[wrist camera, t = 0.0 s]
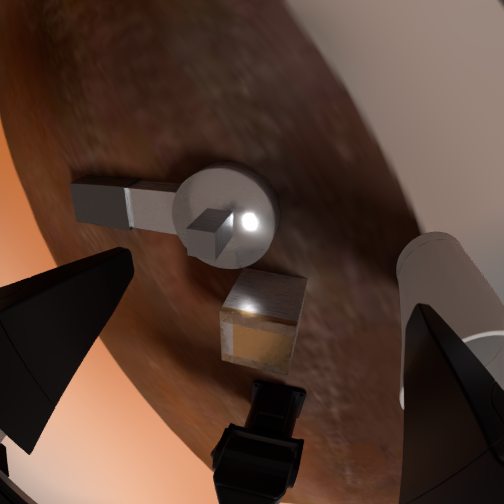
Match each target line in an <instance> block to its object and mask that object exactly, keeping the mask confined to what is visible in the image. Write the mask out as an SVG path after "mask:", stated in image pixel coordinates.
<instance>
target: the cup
mask: <svg viewBox="0 0 504 504" xmlns="http://www.w3.org/2000/svg"><path fill="white" fill-rule="evenodd" d="M396 274H397V279H398V284H399V290H400V304H401V323H402V352H401V382H400V403H401V406H402V408H403V410H404V388H403V370H404V352H405V329H406V325H407V322H408V320H409V318H410V316H411V313H412V311H413V309H414V307H415V305H416V304H417V303H423V304H429V305H430V306H431V307H432V308H433V309H434V310H435V311H436V312H437V313H438V314H439V315H440V316H441V317H442V318H443V320H444V321H445V322H446V323H447V324H448V325H449V326H450V327H451V328H452V329H453V331H454V332H455V333H456V334H457V335H458V336H459V337H460V338H461V339H462V341H463V342H464V343H465V344H466V345H467V346H468V348H469V349H470V350H471V351H472V352H473V353H474V354H475V356H476V357H477V358H478V359H479V360H480V362H481V363H482V364H483V365H484V366H485V368H486V369H487V370H488V371H489V373H490V374H491V375H492V376H493V377H494V379H495V381H497V382H498V384H499V385H500V386H501V388H502V389H503V390H504V305H503V303H502V302H501V300H500V299H499V297H498V296H497V294H496V293H495V291H494V290H493V288H492V287H491V286H490V284H489V283H488V281H487V280H486V279H485V277H484V276H483V275H482V273H481V272H480V270H479V269H478V268H477V266H476V265H475V264H474V262H473V261H472V260H471V258H470V257H469V256H468V254H467V253H466V252H465V250H464V248H463V247H462V245H461V244H460V242H459V241H458V240H457V239H456V238H454V237H453V236H451V235H449V234H447V233H443V232H430V233H425V234H423V235H420V236H418V237H416V238H415V239H413V240H412V241H411V242H410V243H408V244H407V246H406V247H405V248H404V249H403V251H402V252H401V254H400V256H399V258H398V261H397V266H396Z"/></svg>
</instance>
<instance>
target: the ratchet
mask: <svg viewBox="0 0 504 504" xmlns="http://www.w3.org/2000/svg"><path fill="white" fill-rule="evenodd" d="M70 188H71V194H72V199H73V205H74V210H75V215H76V220H77V222H83V223H89V224H95V225H101V226H106V227H112V228H118V229H124V230H131V229H133V228H140V229H147V230H153V231H159V232H165V233H171V234H177V235H178V236H179V238H180V240H181V241H182V243H183V244H184V246H185V247H186V248H187V252H188V256H194V257H197V258H198V259H200V260H202V261H203V262H205V263H207V264H209V265H212V266H215V267H219V268H224V269H238V268H243V267H246V266H249V265H251V264H253V263H255V262H256V261H258V260H259V259H260V258H261V257H262V256H263V255H264V254H265V253H266V251H267V250H268V248H269V246H270V244H271V242H272V240H273V238H274V235H275V233H276V231H277V229H278V226H279V222H280V204H279V200H278V197H277V195H276V192H275V190H274V189H273V187H272V185H271V184H270V183H269V181H268V180H267V179H266V178H265V177H264V176H263V175H262V174H260V173H259V172H258V171H257V170H255V169H253V168H252V167H249V166H247V165H245V164H242V163H238V162H232V161H224V162H217V163H214V164H211V165H209V166H207V167H205V168H203V169H202V170H200V171H199V172H197V173H195V174H194V175H192V176H191V177H189V178H188V179H187V180H185V181H184V182H183V183H182V184H181V183H169V182H157V181H144V180H141V178H131V177H113V176H92V175H86V176H84V177H82V178H80V179H78V180H76V181H74V182H72V183H70Z"/></svg>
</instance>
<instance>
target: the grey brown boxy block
mask: <svg viewBox="0 0 504 504" xmlns="http://www.w3.org/2000/svg"><path fill="white" fill-rule="evenodd" d="M307 280H308V279H304V278H299V277H293V276H287V275H282V274H276V273H271V272H265V271H260V270H255V269H249V268H243V270H242V271H241V273H240V275H239V277H238V279H237V281H236V282H235V284H234V286H233V288H232V290H231V291H230V293H229V295H228V297H227V299H226V300H225V302H224V304H223V306H222V308H221V309H220V333H221V354H222V360H224V361H228V362H231V363H235V364H239V365H244V366H248V367H252V368H256V369H261V370H265V371H270V372H274V373H279V374H284V375H287V374H288V370H289V367H290V363H291V359H292V355H293V350H294V346H295V342H296V338H297V334H298V330H299V325H300V320H301V314H302V309H303V303H304V297H305V292H306V286H307Z"/></svg>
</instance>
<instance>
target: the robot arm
mask: <svg viewBox="0 0 504 504" xmlns="http://www.w3.org/2000/svg"><path fill="white" fill-rule="evenodd" d="M133 276H134V266H133V260H132V255H131V251H130V250H129V249H127V248H123V247H117V248H113V249H110V250H107V251H104V252H101V253H98V254H95V255H92V256H89V257H86V258H83V259H80V260H77V261H74V262H71V263H68V264H66V265H63V266H60V267H57V268H54V269H51V270H48V271H46V272H43V273H40V274H37V275H34V276H32V277H30V278H26V279H23V280H21V281H18V282H15V283H12V284H9V285H7V286H3V287H0V504H37V503H36V502H35V501H34V500H32V499H31V498H30V497H29V496H28V495H27V494H25V493H24V492H23V491H22V490H21V489H20V488H19V487H18V486H17V485H15V484H14V483H13V482H12V481H11V480H10V479H9V478H8V477H9V471H8V464H7V454H6V447H5V446H4V445H3V444H2V443H1V442H2V440H3V439H4V437H5V436H6V435H7V436H8V437H9V438H10V439H11V440H13V441H14V442H15V443H16V444H17V445H18V446H19V447H20V448H22V449H23V450H24V451H25V452H26V453H27V454H28V455H30V454H31V453H32V451H33V449H34V447H35V445H36V443H37V441H38V439H39V437H40V435H41V433H42V431H43V429H44V427H45V426H46V424H47V422H48V420H49V418H50V416H51V415H52V413H53V411H54V409H55V406H56V405H57V403H58V402H59V400H60V398H61V396H62V395H63V393H64V391H65V389H66V388H67V386H68V384H69V383H70V381H71V379H72V377H73V376H74V374H75V372H76V371H77V369H78V367H79V366H80V364H81V363H82V361H83V359H84V358H85V356H86V354H87V353H88V351H89V350H90V348H91V346H92V345H93V343H94V342H95V340H96V339H97V337H98V335H99V334H100V332H101V331H102V329H103V328H104V326H105V325H106V323H107V322H108V320H109V319H110V317H111V316H112V314H113V312H114V311H115V309H116V307H117V305H118V304H119V302H120V300H121V298H122V296H123V294H124V292H125V291H126V289H127V287H128V285H129V283H130V282H131V280H132V278H133ZM403 388H404V441H403V462H402V476H401V487H400V497H399V504H504V390H503V389H502V388H501V386H500V385H499V384H498V382H497V381H495V379H494V377H493V376H492V375H491V374H490V373H489V371H488V370H487V369H486V368H485V366H484V365H483V364H482V363H481V362H480V360H479V359H478V358H477V357H476V356H475V354H474V353H473V352H472V351H471V350H470V349H469V348H468V346H467V345H466V344H465V343H464V342H463V341H462V339H461V338H460V337H459V336H458V335H457V334H456V333H455V332H454V331H453V329H452V328H451V327H450V326H449V325H448V324H447V323H446V322H445V321H444V320H443V318H442V317H441V316H440V315H439V314H438V313H437V312H436V311H435V310H434V309H433V308H432V307H431V306H430V305H429V304H423V303H417V304H416V305H415V307H414V309H413V311H412V313H411V316H410V318H409V320H408V322H407V325H406V329H405V352H404V370H403ZM305 397H306V391H304V390H300V389H295V388H289V387H284V386H280V385H275V384H270V383H266V382H261V381H256V380H255V381H253V384H252V396H251V408H250V411H249V414H248V417H247V420H246V423H245V425H244V427H241V426H237V425H235V424H232V423H230V425H229V427H228V428H225V430H224V432H223V435H222V437H221V439H220V441H219V442H218V444H217V445H216V446H215V448H214V449H213V451H212V452H211V457H212V459H213V465H212V469H213V470H215V472H214V475H213V480H214V485H215V490H216V494H217V498H218V502H219V504H279V503H280V502H281V500H282V498H283V496H284V495H285V493H286V489H287V488H293V486H294V483H295V480H296V477H297V474H298V470H299V466H300V461H301V455H302V450H303V444H304V439H294V438H292V435H293V430H294V426H295V422H296V418H299V415H300V412H301V409H302V406H303V403H304V400H305Z"/></svg>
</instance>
